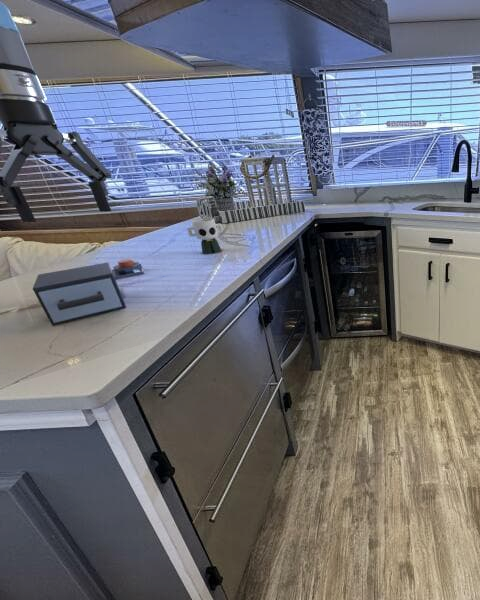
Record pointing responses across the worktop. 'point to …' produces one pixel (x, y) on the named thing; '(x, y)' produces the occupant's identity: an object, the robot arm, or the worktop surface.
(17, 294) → the worktop surface
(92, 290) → the drawer
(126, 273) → the panel
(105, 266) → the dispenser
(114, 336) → the worktop surface
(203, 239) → the character mug
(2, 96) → the robot arm
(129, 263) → the button
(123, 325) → the worktop surface
